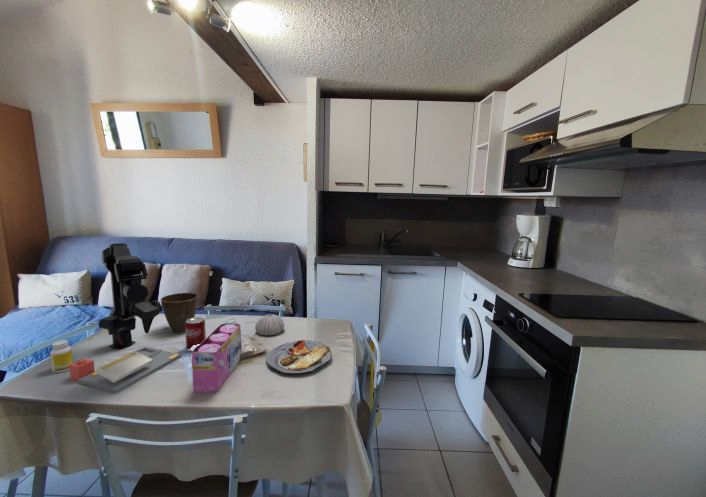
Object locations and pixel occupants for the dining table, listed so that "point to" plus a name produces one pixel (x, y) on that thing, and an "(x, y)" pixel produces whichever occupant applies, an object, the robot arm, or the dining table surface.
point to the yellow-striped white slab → (124, 366)
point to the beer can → (231, 322)
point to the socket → (155, 351)
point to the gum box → (216, 358)
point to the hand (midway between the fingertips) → (134, 338)
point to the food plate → (299, 356)
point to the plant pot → (179, 309)
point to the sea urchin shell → (269, 325)
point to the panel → (157, 363)
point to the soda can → (195, 331)
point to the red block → (81, 369)
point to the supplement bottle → (61, 356)
